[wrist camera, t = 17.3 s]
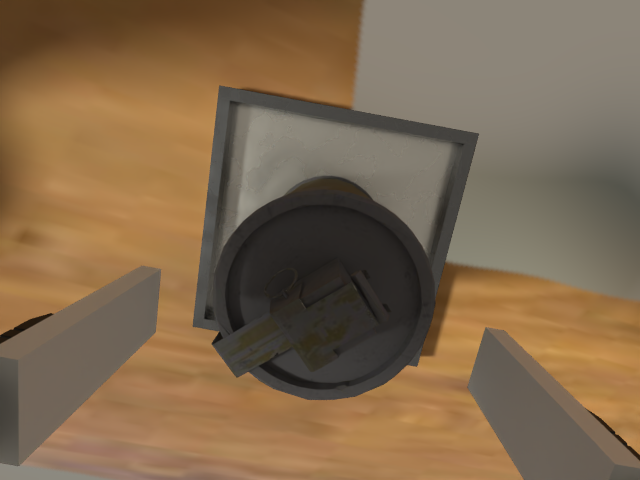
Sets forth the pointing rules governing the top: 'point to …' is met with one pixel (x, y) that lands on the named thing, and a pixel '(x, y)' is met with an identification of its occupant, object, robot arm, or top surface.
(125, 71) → the top surface
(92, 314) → the robot arm
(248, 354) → the canister
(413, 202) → the shallow grey tray
